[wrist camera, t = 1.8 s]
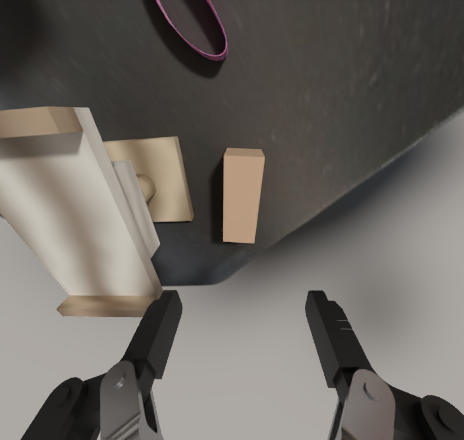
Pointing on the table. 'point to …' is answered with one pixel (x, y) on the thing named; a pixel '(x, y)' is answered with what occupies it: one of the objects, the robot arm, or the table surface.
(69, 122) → the display stand
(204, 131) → the table surface
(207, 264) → the table surface
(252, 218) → the tan block
